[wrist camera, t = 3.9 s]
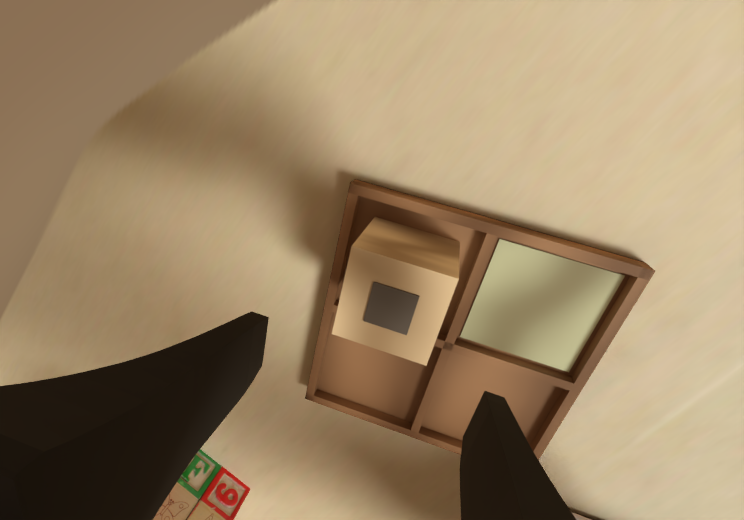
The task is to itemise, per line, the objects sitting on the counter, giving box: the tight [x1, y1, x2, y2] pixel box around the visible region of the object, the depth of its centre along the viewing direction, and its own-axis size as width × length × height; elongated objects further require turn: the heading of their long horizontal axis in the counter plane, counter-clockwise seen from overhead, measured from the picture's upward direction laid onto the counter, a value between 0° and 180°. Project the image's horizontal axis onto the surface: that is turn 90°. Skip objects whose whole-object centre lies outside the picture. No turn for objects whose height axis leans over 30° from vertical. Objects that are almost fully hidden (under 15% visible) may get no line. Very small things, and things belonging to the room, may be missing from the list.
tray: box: [305, 179, 655, 460], centre depth 21 cm, size 14×14×1 cm
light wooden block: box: [332, 217, 460, 366], centre depth 18 cm, size 4×4×5 cm
